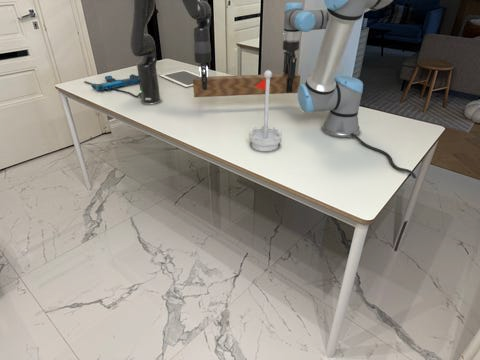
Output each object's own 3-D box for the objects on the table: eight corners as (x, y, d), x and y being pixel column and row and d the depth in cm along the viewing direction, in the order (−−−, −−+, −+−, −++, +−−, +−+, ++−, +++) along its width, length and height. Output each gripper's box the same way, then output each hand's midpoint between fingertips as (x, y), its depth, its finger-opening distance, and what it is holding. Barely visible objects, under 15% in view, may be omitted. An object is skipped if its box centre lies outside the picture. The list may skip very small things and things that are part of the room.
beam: (296, 89, 171) (298, 73, 166) (298, 92, 167) (300, 75, 162) (194, 94, 166) (192, 77, 161) (194, 97, 162) (192, 79, 157)
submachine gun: (136, 68, 224) (154, 75, 207) (137, 74, 226) (155, 81, 209) (84, 79, 205) (99, 86, 189) (85, 85, 207) (100, 93, 190)
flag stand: (272, 135, 145) (276, 64, 129) (286, 149, 135) (292, 73, 119) (244, 140, 141) (244, 67, 125) (256, 154, 131) (258, 77, 115)
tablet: (159, 75, 221) (159, 75, 220) (185, 70, 232) (185, 69, 231) (186, 87, 200) (186, 86, 200) (213, 80, 211) (213, 80, 211)
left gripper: (194, 47, 159) (196, 83, 168) (194, 54, 147) (197, 93, 156) (210, 47, 159) (211, 83, 169) (211, 54, 147) (213, 92, 157)
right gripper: (278, 37, 162) (276, 85, 175) (288, 44, 147) (284, 96, 160) (293, 36, 163) (290, 84, 176) (305, 44, 148) (300, 96, 161)
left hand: (204, 87), depth 162 cm, fingers closed on beam, 4 cm apart
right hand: (287, 90), depth 168 cm, fingers closed on beam, 5 cm apart
